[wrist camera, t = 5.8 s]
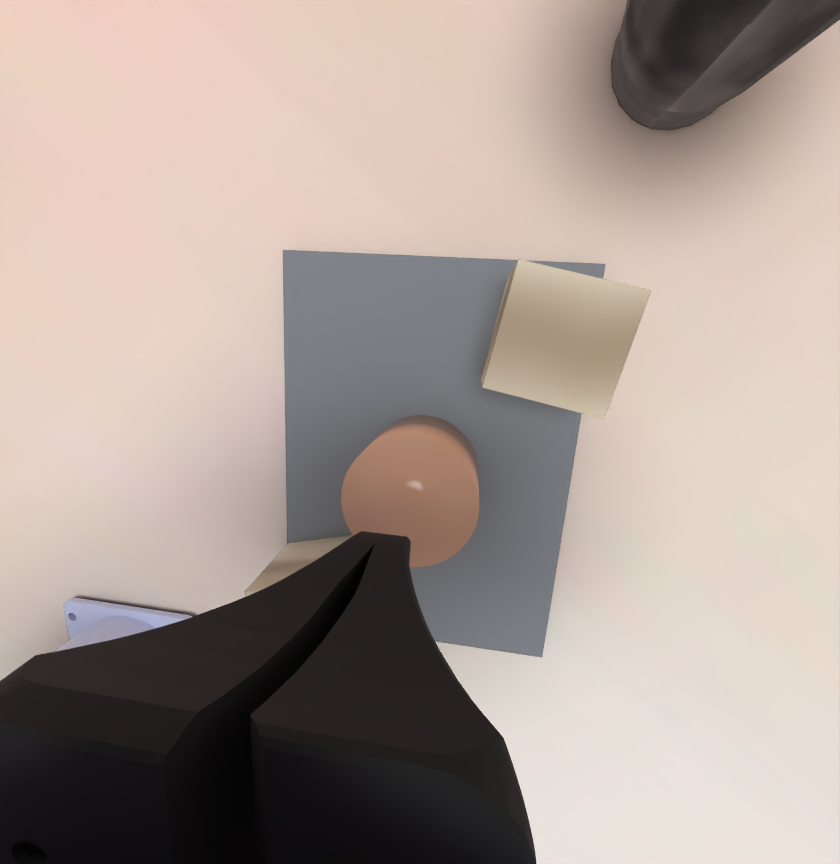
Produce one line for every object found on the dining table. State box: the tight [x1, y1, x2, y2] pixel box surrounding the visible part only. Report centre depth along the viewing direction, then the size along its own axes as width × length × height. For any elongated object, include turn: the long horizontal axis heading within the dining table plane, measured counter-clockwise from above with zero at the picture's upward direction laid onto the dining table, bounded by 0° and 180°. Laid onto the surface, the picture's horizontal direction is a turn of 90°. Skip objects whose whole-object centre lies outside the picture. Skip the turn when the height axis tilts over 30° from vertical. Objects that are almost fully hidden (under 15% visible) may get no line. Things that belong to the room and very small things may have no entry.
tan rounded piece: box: [341, 415, 479, 567], centre depth 16 cm, size 5×5×4 cm
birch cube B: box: [480, 259, 652, 419], centre depth 14 cm, size 4×4×4 cm
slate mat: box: [283, 250, 605, 657], centre depth 19 cm, size 18×13×1 cm
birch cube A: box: [244, 535, 353, 597], centre depth 18 cm, size 4×4×4 cm
